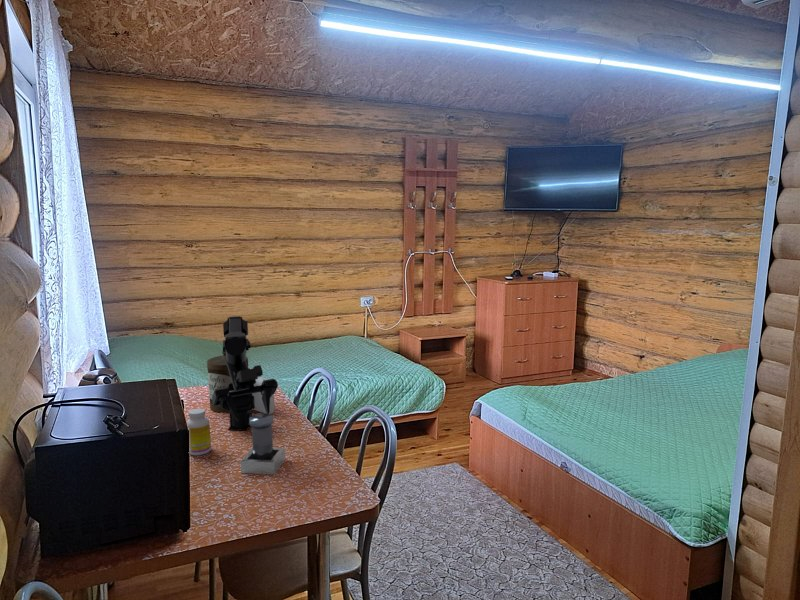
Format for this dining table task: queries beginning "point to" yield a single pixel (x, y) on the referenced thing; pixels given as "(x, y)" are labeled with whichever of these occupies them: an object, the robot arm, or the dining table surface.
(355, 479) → the dining table surface
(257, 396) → the white rounded block
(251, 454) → the gray square frame
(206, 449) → the supplement bottle
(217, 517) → the dining table surface
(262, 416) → the dark grey metal cylinder
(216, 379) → the wooden container
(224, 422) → the dining table surface
